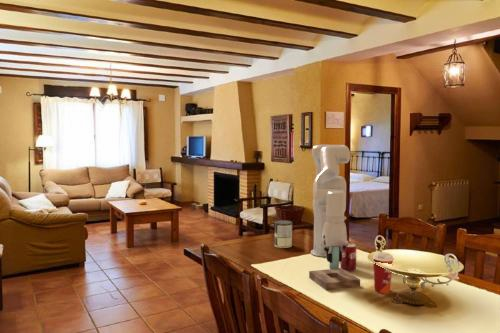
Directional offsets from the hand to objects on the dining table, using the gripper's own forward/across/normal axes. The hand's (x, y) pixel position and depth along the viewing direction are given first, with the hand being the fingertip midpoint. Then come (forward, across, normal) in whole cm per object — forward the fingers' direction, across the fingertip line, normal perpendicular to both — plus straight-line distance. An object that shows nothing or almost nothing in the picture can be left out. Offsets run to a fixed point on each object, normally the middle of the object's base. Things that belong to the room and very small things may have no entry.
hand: (334, 260), depth 178 cm
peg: (+3, 0, 0) cm, 3 cm away
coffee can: (+10, -2, -63) cm, 64 cm away
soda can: (+10, -15, -13) cm, 22 cm away
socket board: (+9, 0, 0) cm, 9 cm away
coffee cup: (+9, -14, +15) cm, 23 cm away
